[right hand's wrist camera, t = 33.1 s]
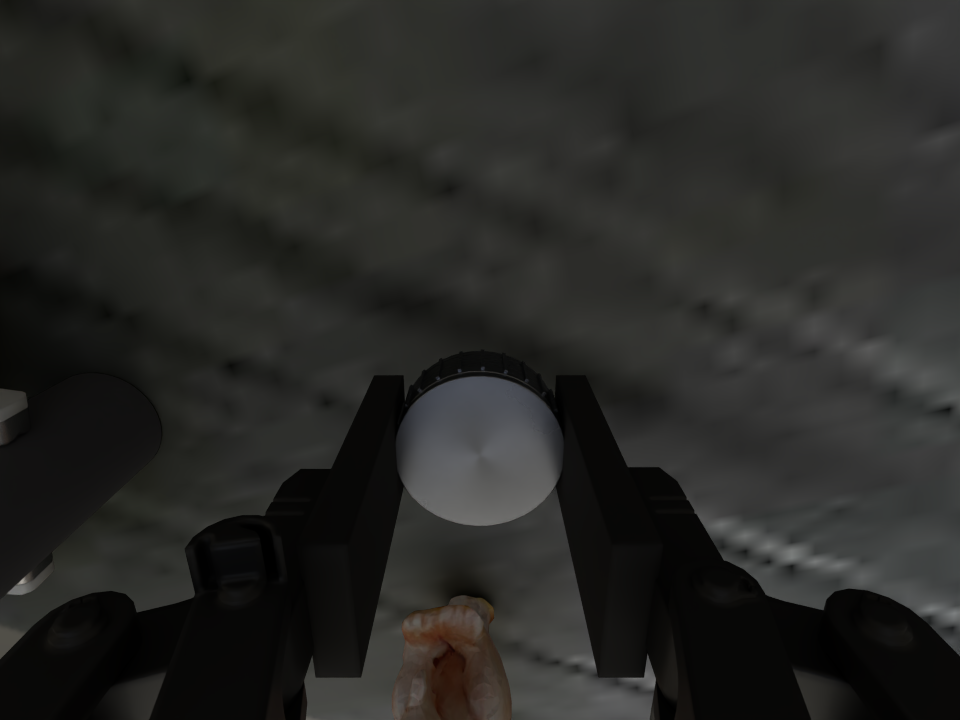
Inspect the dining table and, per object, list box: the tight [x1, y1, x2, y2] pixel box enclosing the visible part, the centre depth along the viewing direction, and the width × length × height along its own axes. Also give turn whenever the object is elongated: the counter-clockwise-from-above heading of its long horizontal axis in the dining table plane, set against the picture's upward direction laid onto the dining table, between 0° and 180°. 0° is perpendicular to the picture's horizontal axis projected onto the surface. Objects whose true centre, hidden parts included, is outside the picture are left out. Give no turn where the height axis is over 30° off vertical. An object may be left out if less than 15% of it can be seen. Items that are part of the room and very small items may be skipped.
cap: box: [395, 350, 564, 526], centre depth 14 cm, size 4×4×2 cm
